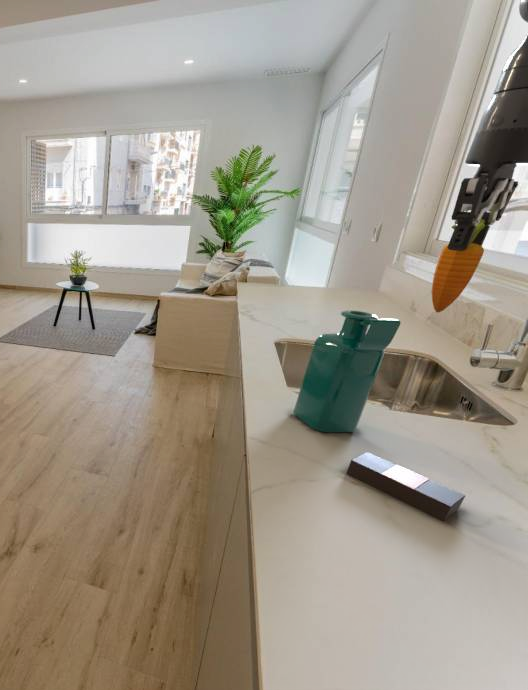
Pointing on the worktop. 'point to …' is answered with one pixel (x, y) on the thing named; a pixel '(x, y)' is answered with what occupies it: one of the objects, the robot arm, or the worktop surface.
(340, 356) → the pitcher
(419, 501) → the snack bar
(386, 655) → the worktop surface
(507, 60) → the robot arm
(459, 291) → the carrot
